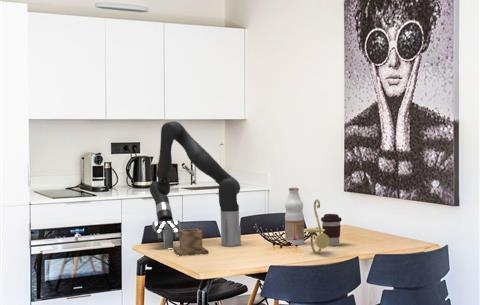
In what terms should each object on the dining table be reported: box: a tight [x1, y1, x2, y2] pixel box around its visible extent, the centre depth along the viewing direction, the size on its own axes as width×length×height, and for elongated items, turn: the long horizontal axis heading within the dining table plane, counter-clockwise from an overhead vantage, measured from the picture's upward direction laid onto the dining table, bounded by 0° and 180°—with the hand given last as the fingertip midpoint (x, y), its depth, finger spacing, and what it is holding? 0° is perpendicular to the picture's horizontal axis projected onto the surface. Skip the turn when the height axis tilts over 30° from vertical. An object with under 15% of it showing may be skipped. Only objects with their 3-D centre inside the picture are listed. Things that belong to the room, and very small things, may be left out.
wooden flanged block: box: [173, 228, 210, 257], centre depth 284 cm, size 14×12×10 cm
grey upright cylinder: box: [162, 228, 174, 250], centre depth 296 cm, size 4×4×10 cm
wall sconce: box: [304, 198, 329, 255], centre depth 275 cm, size 14×10×25 cm
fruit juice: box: [284, 187, 305, 246], centre depth 303 cm, size 9×9×28 cm
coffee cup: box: [320, 213, 342, 247], centre depth 297 cm, size 10×10×15 cm
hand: (168, 239), depth 295 cm, fingers open, 7 cm apart
